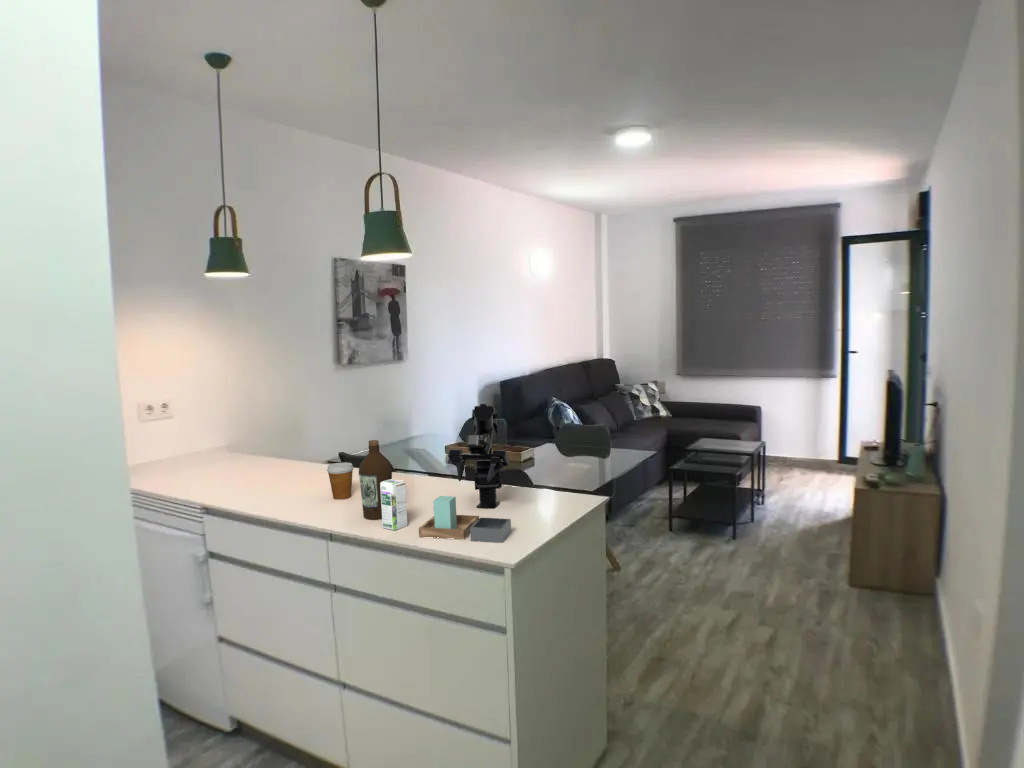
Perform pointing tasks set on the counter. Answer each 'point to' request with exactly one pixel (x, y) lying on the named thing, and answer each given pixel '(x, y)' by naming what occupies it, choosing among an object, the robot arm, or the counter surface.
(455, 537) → the tray
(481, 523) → the holder
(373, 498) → the olive oil
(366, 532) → the counter surface
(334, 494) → the disposable coffee cup
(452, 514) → the block
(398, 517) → the syrup box
